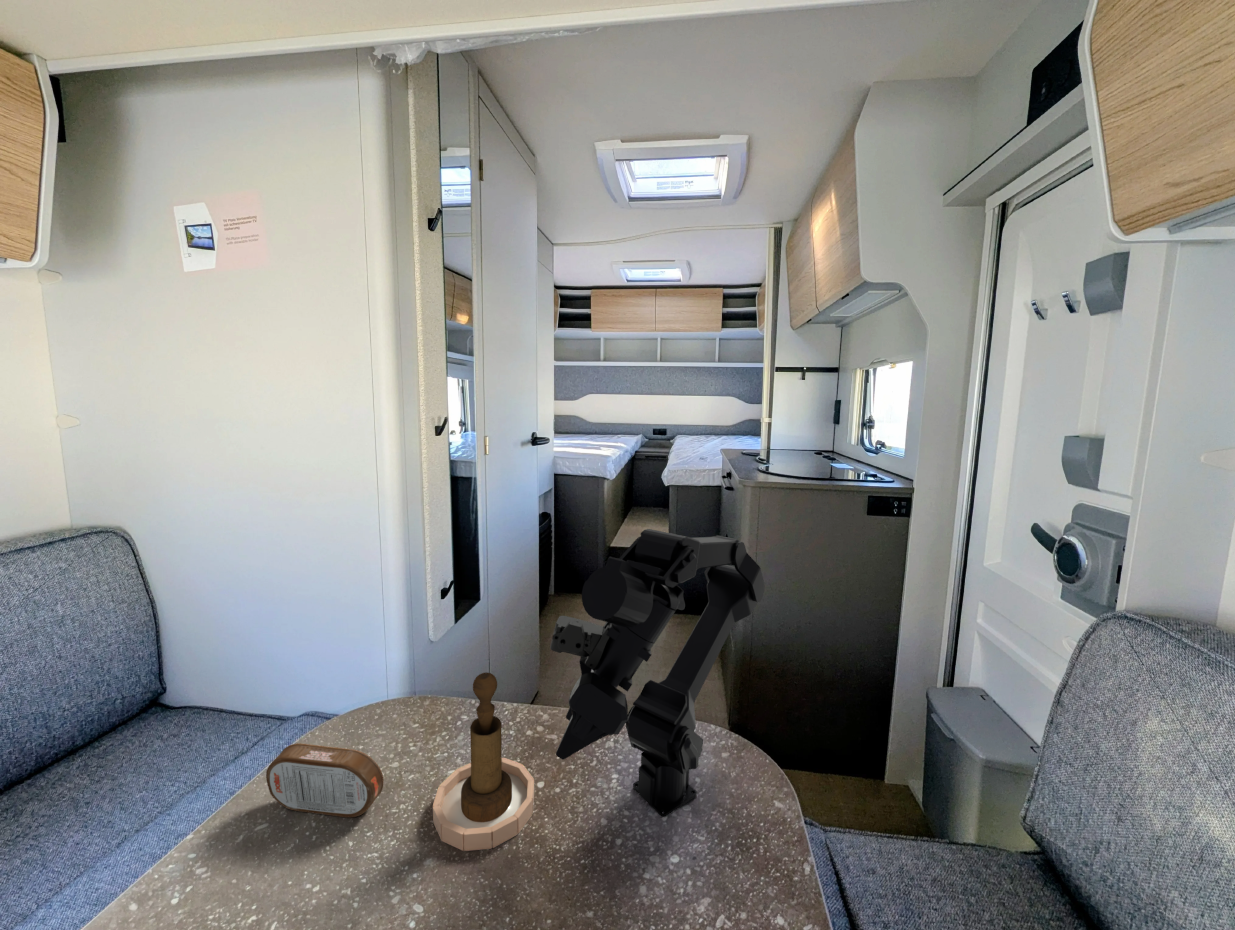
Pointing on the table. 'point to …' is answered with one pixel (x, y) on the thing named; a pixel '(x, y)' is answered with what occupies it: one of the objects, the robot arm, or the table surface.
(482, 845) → the bowl
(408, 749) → the table surface
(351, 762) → the tin
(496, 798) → the mortar and pestle
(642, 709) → the robot arm
